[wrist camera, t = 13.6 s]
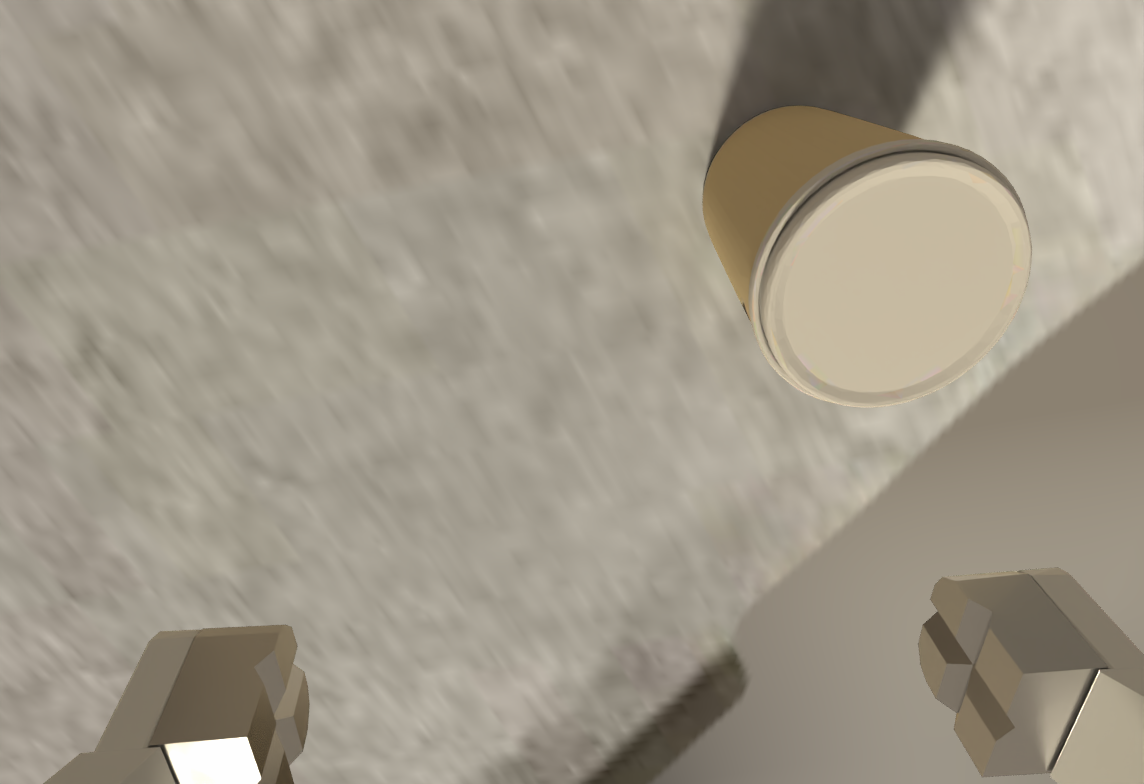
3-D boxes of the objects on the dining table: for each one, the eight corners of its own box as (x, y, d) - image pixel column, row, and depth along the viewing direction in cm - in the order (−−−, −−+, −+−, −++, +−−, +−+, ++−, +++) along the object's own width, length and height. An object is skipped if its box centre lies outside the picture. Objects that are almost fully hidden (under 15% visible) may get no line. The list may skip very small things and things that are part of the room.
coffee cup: (663, 275, 38) (726, 403, 27) (710, 68, 33) (807, 125, 23) (846, 297, 39) (972, 427, 29) (915, 101, 34) (1094, 170, 24)
